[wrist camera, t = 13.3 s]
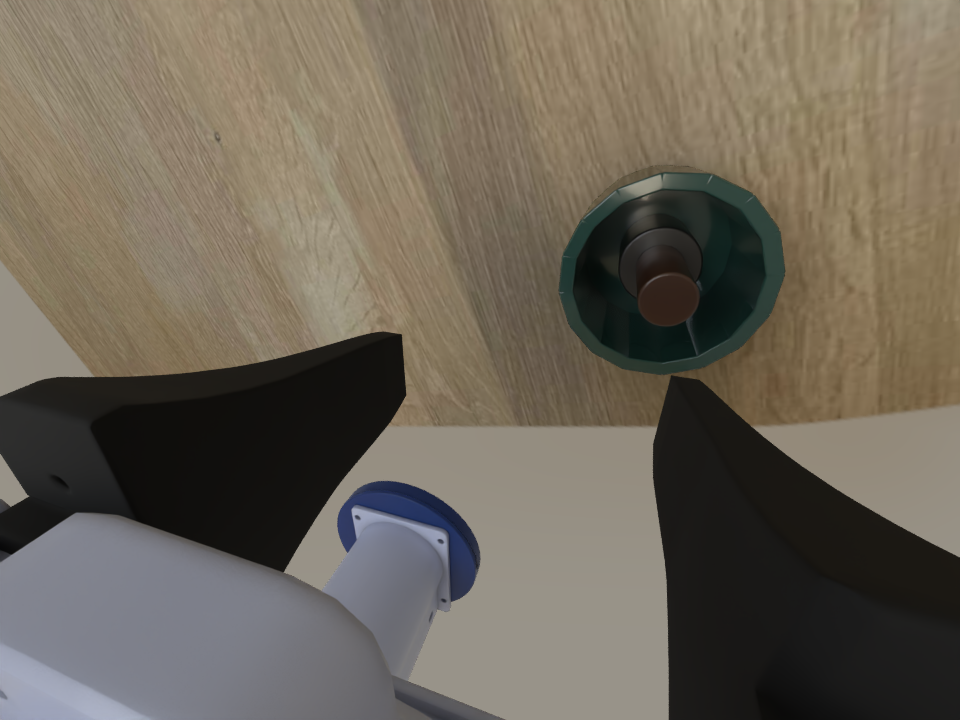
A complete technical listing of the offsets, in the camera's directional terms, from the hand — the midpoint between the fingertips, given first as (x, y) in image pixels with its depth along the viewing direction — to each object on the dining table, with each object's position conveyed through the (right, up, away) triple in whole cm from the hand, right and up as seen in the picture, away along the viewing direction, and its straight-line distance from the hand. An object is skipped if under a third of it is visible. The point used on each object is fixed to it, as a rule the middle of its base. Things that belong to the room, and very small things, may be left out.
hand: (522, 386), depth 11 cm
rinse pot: (+6, +6, +7) cm, 11 cm away
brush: (+6, +5, +6) cm, 11 cm away
